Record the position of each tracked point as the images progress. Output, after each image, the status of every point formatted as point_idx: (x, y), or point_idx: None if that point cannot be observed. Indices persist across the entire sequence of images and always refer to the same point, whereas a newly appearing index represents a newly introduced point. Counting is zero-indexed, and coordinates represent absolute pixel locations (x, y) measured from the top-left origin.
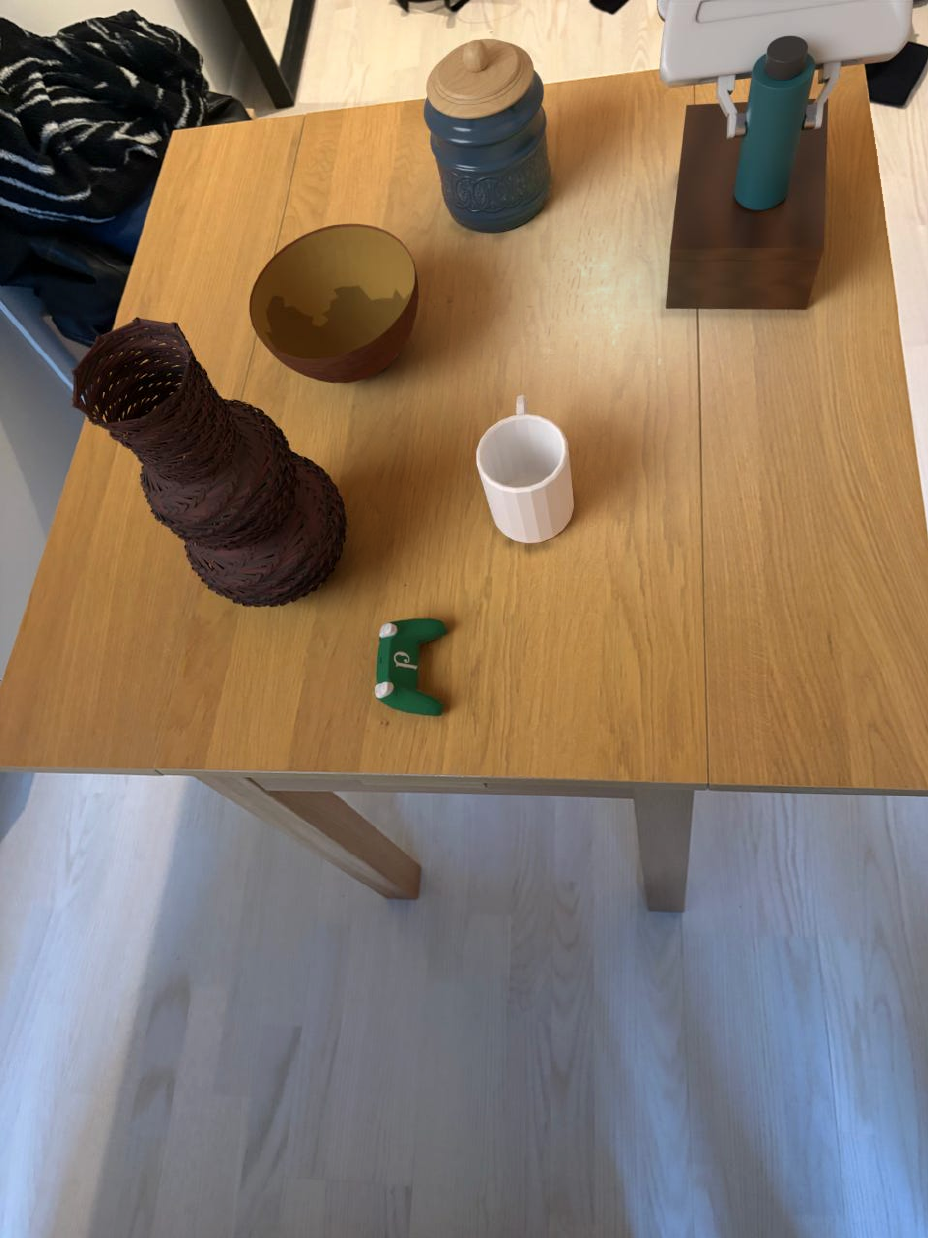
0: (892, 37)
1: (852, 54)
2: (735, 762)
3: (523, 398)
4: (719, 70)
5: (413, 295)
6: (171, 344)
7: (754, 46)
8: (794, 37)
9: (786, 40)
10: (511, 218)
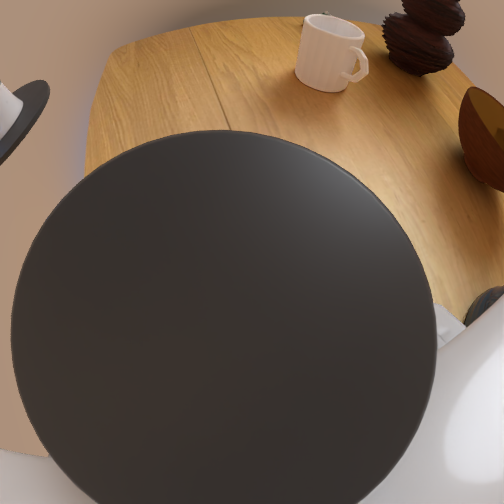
0: None
1: (8, 453)
2: (178, 31)
3: (362, 55)
4: (490, 317)
5: (481, 124)
6: None
7: (445, 445)
8: None
9: (257, 489)
10: (479, 301)
